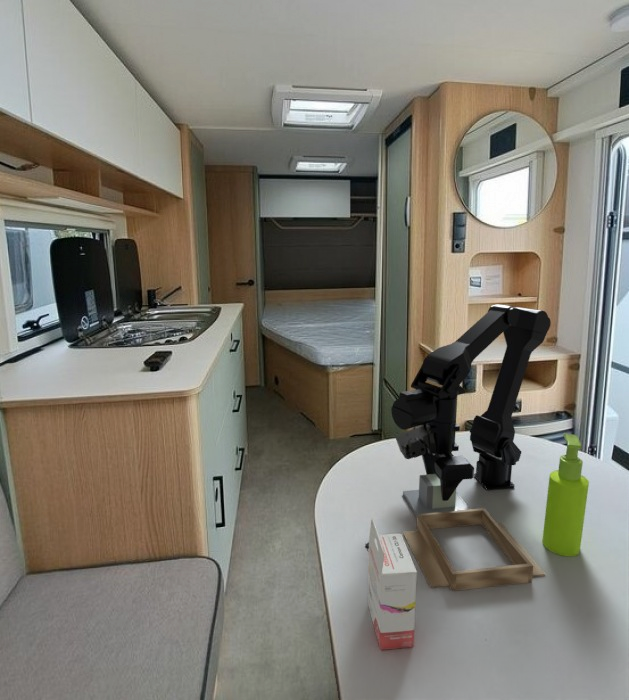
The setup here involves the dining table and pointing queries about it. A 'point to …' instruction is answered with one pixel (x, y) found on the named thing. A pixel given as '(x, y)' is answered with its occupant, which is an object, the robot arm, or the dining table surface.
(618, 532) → the dining table surface
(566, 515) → the soap dispenser
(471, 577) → the wooden frame
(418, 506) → the coaster
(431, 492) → the box
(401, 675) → the dining table surface
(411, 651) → the dining table surface
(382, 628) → the ink cartridge box
